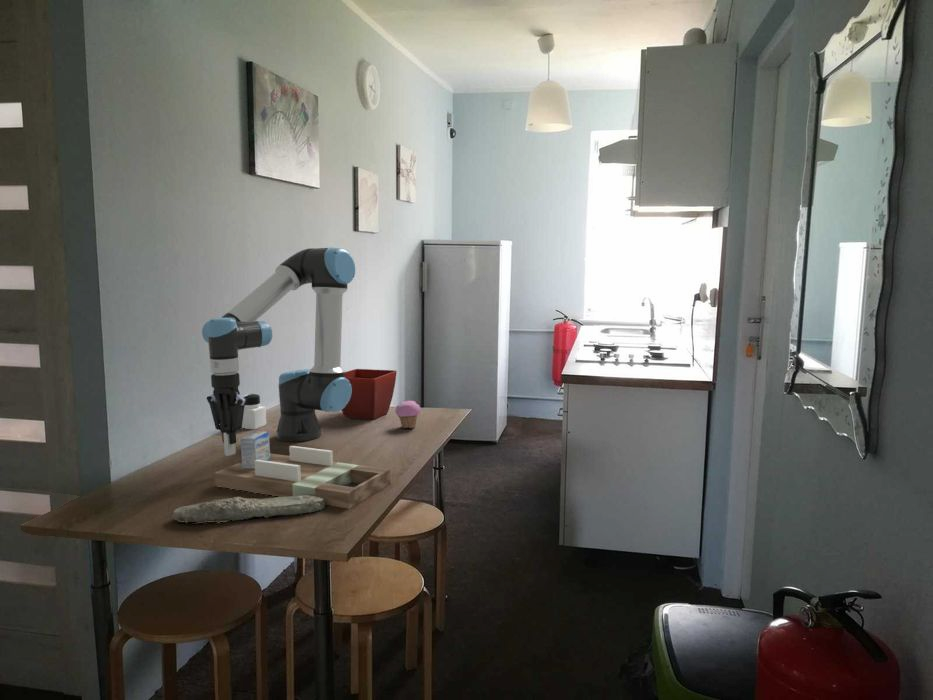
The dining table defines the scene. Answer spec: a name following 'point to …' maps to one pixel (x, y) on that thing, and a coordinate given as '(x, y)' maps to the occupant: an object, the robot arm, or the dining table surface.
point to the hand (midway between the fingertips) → (230, 454)
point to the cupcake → (408, 413)
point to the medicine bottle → (253, 413)
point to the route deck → (311, 481)
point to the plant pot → (369, 393)
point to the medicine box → (255, 449)
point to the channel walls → (292, 470)
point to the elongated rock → (248, 508)
